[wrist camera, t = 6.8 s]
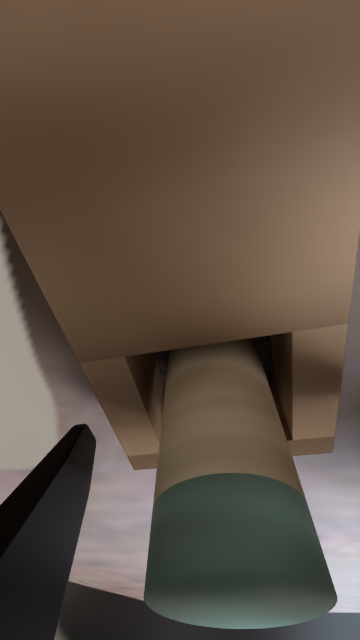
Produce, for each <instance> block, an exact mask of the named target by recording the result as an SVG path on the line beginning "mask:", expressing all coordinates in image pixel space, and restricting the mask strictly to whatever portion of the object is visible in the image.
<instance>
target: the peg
mask: <svg viewBox="0 0 360 640" xmlns="http://www.w3.org/2000/svg"><path fill="white" fill-rule="evenodd" d="M144 601H145V603H146V604H147V606H148V607H149V608H150V609H152V610H153V611H155V612H156V613H158V614H161V615H162V616H165V617H167V618H170V619H173V620H176V621H180V622H184V623H188V624H193V625H199V626H206V627H215V628H228V629H256V628H257V629H258V628H271V627H280V626H287V625H292V624H297V623H301V622H305V621H308V620H311V619H314V618H317V617H319V616H321V615H323V614H325V613H327V612H328V611H330V610H331V609H332V608H333V607H334V606H335V604H336V602H337V595H336V592H335V589H334V585H333V582H332V579H331V576H330V573H329V570H328V567H327V564H326V561H325V558H324V554H323V551H322V548H321V545H320V542H319V539H318V536H317V533H316V530H315V527H314V523H313V520H312V517H311V514H310V511H309V508H308V505H307V502H306V499H305V496H304V492H303V489H302V486H301V483H300V480H299V477H298V474H297V471H296V468H295V465H294V461H293V458H292V455H291V452H290V449H289V446H288V443H287V440H286V437H285V434H284V430H283V427H282V424H281V421H280V418H279V415H278V412H277V409H276V406H275V403H274V399H273V396H272V393H271V390H270V387H269V384H268V381H267V378H266V375H265V372H264V368H263V365H262V362H261V359H260V356H259V353H258V350H257V347H256V344H255V341H254V338H248V339H241V340H235V341H228V342H221V343H214V344H207V345H201V346H194V347H187V348H180V349H173V350H169V357H168V367H167V377H166V386H165V396H164V406H163V415H162V425H161V435H160V445H159V454H158V464H157V474H156V483H155V493H154V503H153V512H152V522H151V532H150V542H149V551H148V561H147V571H146V580H145V590H144Z"/></svg>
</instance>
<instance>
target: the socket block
mask: <svg viewBox="0 0 360 640" xmlns="http://www.w3.org/2000/svg"><path fill="white" fill-rule="evenodd" d="M0 211H1V213H2V215H3V217H4V219H5V221H6V223H7V224H8V226H9V228H10V230H11V232H12V234H13V236H14V238H15V240H16V242H17V244H18V246H19V248H20V250H21V252H22V254H23V255H24V257H25V259H26V261H27V263H28V265H29V267H30V269H31V271H32V273H33V275H34V277H35V279H36V281H37V283H38V285H39V286H40V288H41V290H42V292H43V294H44V296H45V298H46V300H47V302H48V304H49V306H50V308H51V310H52V312H53V314H54V316H55V317H56V319H57V321H58V323H59V325H60V327H61V329H62V331H63V333H64V335H65V337H66V339H67V341H68V343H69V345H70V347H71V348H72V350H73V352H74V354H75V356H76V358H77V360H78V362H79V364H80V366H81V368H82V370H83V372H84V374H85V376H86V378H87V379H88V381H89V383H90V385H91V387H92V389H93V391H94V393H95V395H96V397H97V399H98V401H99V403H100V405H101V407H102V409H103V410H104V412H105V414H106V416H107V418H108V420H109V422H110V424H111V426H112V428H113V430H114V432H115V434H116V436H117V438H118V440H119V441H120V443H121V445H122V447H123V449H124V451H125V453H126V455H127V457H128V459H129V461H130V463H131V465H132V467H133V469H134V470H141V469H153V468H157V464H158V454H159V445H160V435H161V425H162V415H163V406H164V396H165V385H164V382H163V379H162V375H161V372H160V369H159V366H158V363H157V360H156V357H155V354H154V352H160V351H167V350H173V349H180V348H187V347H194V346H201V345H207V344H214V343H221V342H228V341H235V340H241V339H248V338H255V337H262V336H269V335H271V355H272V374H273V383H268V384H269V387H270V390H271V393H272V396H273V399H274V403H275V406H276V409H277V412H278V415H279V418H280V421H281V424H282V427H283V430H284V434H285V437H286V440H287V443H288V446H289V449H290V452H291V455H292V456H298V455H309V454H320V453H331V452H333V447H334V439H335V431H336V422H337V414H338V406H339V398H340V389H341V381H342V373H343V365H344V356H345V348H346V340H347V332H348V323H349V315H350V307H351V299H352V290H353V282H354V274H355V266H356V257H357V249H358V241H359V233H360V0H0Z"/></svg>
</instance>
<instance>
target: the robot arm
mask: <svg viewBox="0 0 360 640" xmlns="http://www.w3.org/2000/svg"><path fill="white" fill-rule="evenodd" d="M95 449H96V440H95V437H94V435H93V434H92V432H91V430H90V428H89V427H88V425H86V424H79V425H75V426H73V427H72V428H71V429H70V430H69V431H68V432H67V433H66V435H65V436H64V437H63V438H62V439H61V440H60V441H59V442H58V443H57V444H56V445H55V446H54V448H53V449H52V450H51V451H50V452H49V453H48V454H47V455H46V456H45V457H44V458H43V460H42V461H41V462H40V463H39V464H38V465H37V466H36V467H35V468H34V469H33V470H32V471H31V472H30V474H29V475H28V476H27V477H26V478H25V479H24V480H23V481H22V482H21V483H20V484H19V486H18V487H17V488H16V489H15V490H14V491H13V492H12V493H11V494H10V495H9V496H8V497H7V499H6V500H5V501H4V502H3V503H2V504H1V505H0V640H54V638H55V634H56V629H57V625H58V621H59V617H60V613H61V608H62V604H63V600H64V596H65V592H66V587H67V583H68V579H69V575H70V571H71V567H72V563H73V558H74V554H75V550H76V546H77V542H78V538H79V533H80V529H81V525H82V521H83V517H84V513H85V508H86V504H87V500H88V495H89V491H90V485H91V478H92V470H93V463H94V456H95Z"/></svg>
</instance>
